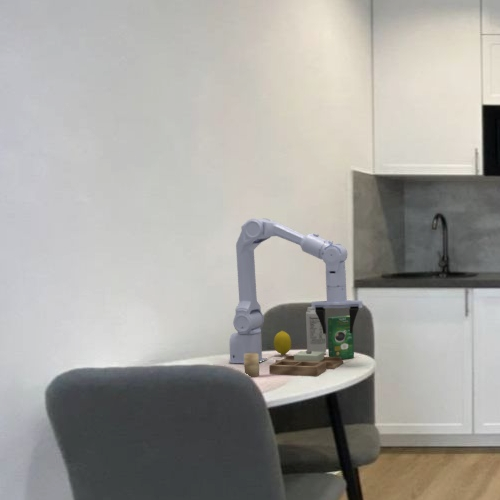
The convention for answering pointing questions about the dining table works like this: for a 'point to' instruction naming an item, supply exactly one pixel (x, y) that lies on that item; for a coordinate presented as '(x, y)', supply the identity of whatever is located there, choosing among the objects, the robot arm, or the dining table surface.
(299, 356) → the lid
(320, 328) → the energy drink can
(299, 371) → the socket board
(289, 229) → the robot arm
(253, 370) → the oak peg
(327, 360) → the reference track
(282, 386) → the dining table surface
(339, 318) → the coffee box
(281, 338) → the lemon
